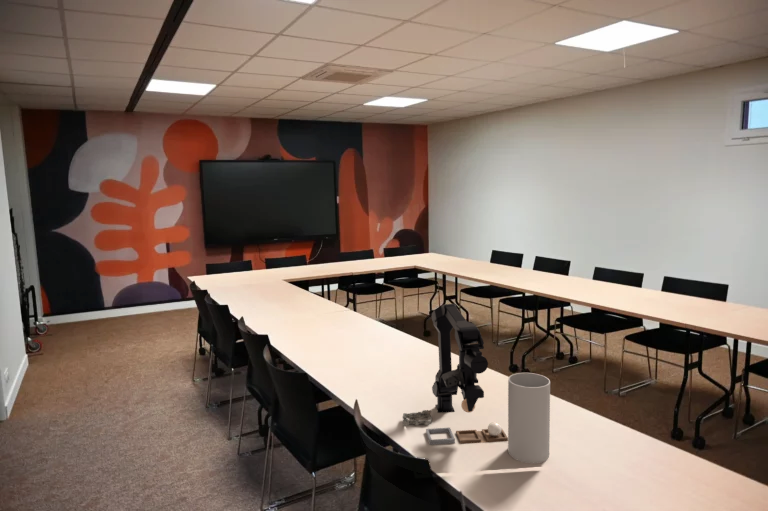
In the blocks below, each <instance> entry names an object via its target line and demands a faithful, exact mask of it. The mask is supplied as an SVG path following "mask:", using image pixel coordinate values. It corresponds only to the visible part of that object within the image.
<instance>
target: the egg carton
mask: <svg viewBox="0 0 768 511" xmlns="http://www.w3.org/2000/svg"><path fill="white" fill-rule="evenodd" d="M407 417H409V418H408V419H407ZM417 417H418V418H419V420H417ZM425 418H427V420H423V419H425ZM421 419H422V420H421ZM432 419H433V417H432V410H429V409H427V410H425V409H424V410H422V411H418V412H410V413H407V412H404V413H403V414H402V426H403V427H405V428H407V427H408V426H409V425H411V424H414V425H415V426H419V425H421V424H423V425H425V426H429V425H431V424H432Z"/></svg>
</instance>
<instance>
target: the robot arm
mask: <svg viewBox="0 0 768 511" xmlns="http://www.w3.org/2000/svg"><path fill="white" fill-rule="evenodd" d="M431 321H432V323H433V324H432V325H433V326H434V328H435V329H436V331H437V340H438V342H437V343H438V346H437V347H438V365H439V366H438V367H439V368H438V371H437V373H436V374H435V381H434V382H433V385H432V386H431V390H432V394H433V395H434V397H435V398H437V399H436V400H437V404H435V409H436V411H437V413H440V414H441V413H454V412H455V408H454V406H453V396H457V395H458V392H459V390H458V389H460V390H461V392H460V393H461V394H462V399H463V400H464V399H466V402H467V407H468V411H472V410H473V408H474V406H475V407H476V403H477V402H478V400H479V399H483V398H485V391H484V390H483V388H482V387H481V386H480V385H479V379H478V378H477V374H483V373H484V372H485V371H486V370H487V369H488V367H489V362H488V360H487V358H486V357H485V356H484V355H483V352H482V351H481V350H484V349H485V347H484V346H485V345H484V344H485V343H484V339H483V336H482V333H481V331H480V328H478V327H477V326H476V324H474V323H472V322H470V321H468V320H466V319H465V317H464V315H463V314H462V313H461V312H460V310H459V309H458V306H457V304H456V303H445V304H442V305H441V306H440V307H438V308H436V309H433V312H431ZM453 329H454V338H455V341H456V344H457V347H458V364H456V369H452V368H453V367H452V346H451V345H452V343H451V342H452V341H451V332H452V331H453ZM473 411H474V410H473ZM473 411H472V412H473Z"/></svg>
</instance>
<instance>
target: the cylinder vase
mask: <svg viewBox="0 0 768 511" xmlns="http://www.w3.org/2000/svg"><path fill="white" fill-rule="evenodd" d="M507 384H508V386H507V387H508V388H507V390H508V391H507V396H508V397H507V400H508V401H507V403H508V404H507V405H508V406H507V414H508V415H507V417H508V418H507V422H508V423H507V428H508V429H507V430H508V431H507V432H508V433H507V434H508V435H507V437H508V441H507V444H508V445H507V447H508V448H507V451H508V454H509V456H510V457H511V458H513V459H514V460H515V461H518V462H521V463H526V464H541V463H544V462H546V461H547V460H549V458H550V438H551V436H550V435H551V434H550V432H551V431H550V426H551V425H550V422H551V417H550V416H551V380H550V379H549V378H548V377H547V376H545V375H542V374H538V373H533V372H518V373H513V374H511V375H509V376H508V378H507Z"/></svg>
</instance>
